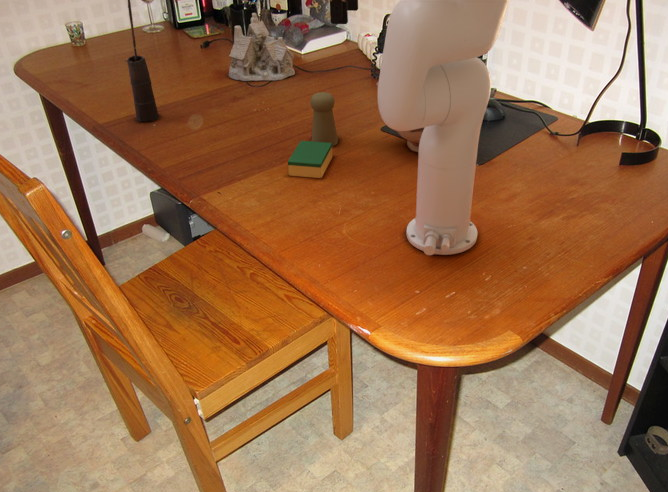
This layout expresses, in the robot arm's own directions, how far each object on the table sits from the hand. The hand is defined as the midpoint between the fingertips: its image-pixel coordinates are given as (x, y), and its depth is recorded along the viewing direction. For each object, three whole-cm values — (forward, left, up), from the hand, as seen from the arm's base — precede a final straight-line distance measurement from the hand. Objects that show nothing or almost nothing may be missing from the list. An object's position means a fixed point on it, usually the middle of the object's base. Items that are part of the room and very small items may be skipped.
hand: (344, 16), depth 125 cm
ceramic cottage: (+42, +34, -28) cm, 61 cm away
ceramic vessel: (+5, -18, -28) cm, 34 cm away
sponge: (-9, +6, -28) cm, 30 cm away
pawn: (+3, +6, -28) cm, 29 cm away
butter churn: (+7, +52, -28) cm, 60 cm away
